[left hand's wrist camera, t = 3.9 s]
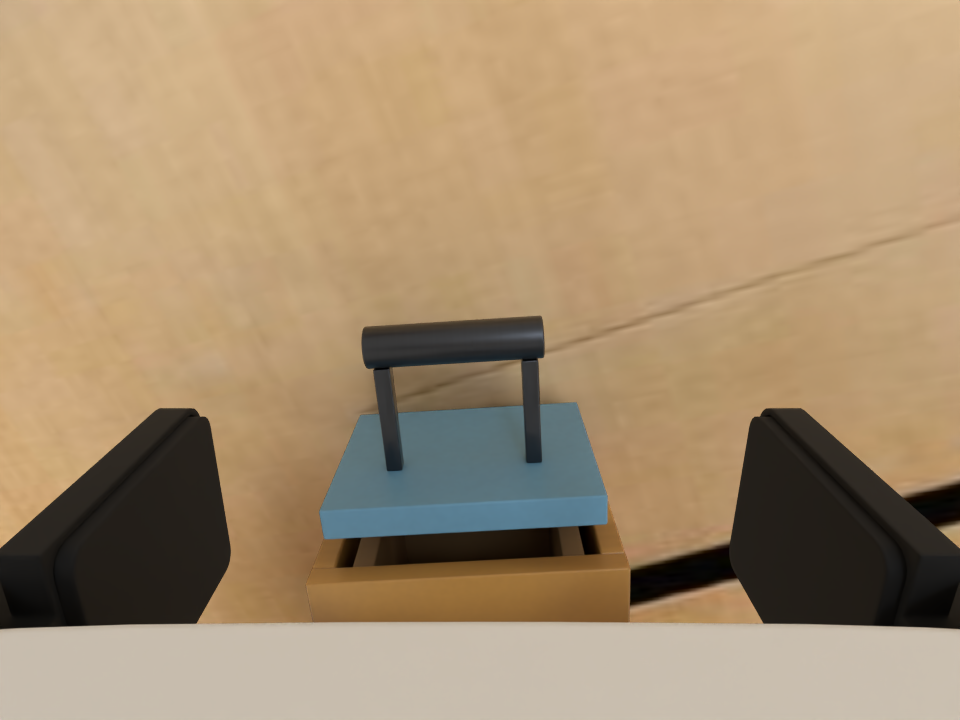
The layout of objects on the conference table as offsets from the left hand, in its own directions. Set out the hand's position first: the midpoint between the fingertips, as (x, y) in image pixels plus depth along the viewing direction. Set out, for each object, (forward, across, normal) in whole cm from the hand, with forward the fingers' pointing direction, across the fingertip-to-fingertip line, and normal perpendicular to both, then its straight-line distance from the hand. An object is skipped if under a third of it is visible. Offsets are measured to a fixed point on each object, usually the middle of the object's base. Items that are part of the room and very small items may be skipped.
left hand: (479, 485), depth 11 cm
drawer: (+17, 0, +11) cm, 20 cm away
